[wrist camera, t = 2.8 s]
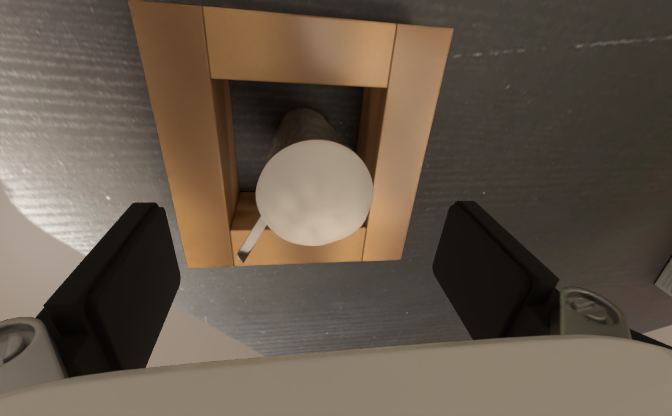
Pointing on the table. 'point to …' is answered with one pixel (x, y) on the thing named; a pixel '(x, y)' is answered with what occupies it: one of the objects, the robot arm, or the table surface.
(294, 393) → the robot arm
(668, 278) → the ink box
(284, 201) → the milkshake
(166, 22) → the holder
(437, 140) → the table surface
